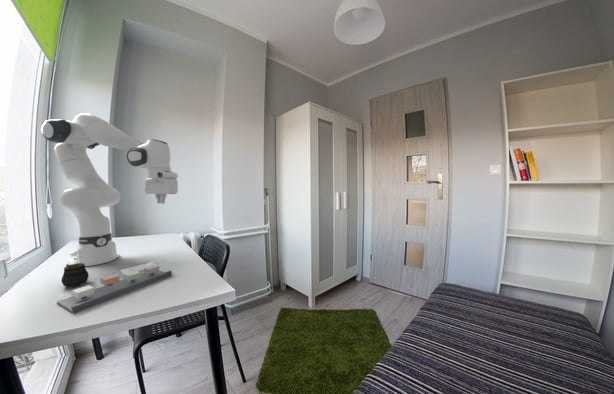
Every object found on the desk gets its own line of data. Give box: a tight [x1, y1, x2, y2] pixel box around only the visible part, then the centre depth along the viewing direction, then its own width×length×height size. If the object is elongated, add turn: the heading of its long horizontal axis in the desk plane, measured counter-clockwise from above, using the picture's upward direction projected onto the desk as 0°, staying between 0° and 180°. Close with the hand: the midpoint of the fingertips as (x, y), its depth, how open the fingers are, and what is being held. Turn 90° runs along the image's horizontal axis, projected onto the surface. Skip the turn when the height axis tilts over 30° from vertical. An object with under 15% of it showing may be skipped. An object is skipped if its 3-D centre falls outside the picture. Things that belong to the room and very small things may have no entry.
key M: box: [143, 264, 160, 275], centre depth 90 cm, size 4×4×3 cm
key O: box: [72, 284, 95, 299], centre depth 71 cm, size 4×4×3 cm
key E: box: [99, 273, 120, 286], centre depth 77 cm, size 4×4×3 cm
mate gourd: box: [61, 263, 90, 288], centre depth 83 cm, size 7×8×10 cm
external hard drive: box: [119, 261, 157, 277], centre depth 98 cm, size 2×8×12 cm
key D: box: [123, 271, 141, 282], centre depth 83 cm, size 4×4×3 cm
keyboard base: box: [56, 269, 173, 315], centre depth 80 cm, size 13×30×2 cm, turn 155°
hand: (161, 203), depth 99 cm, fingers closed
